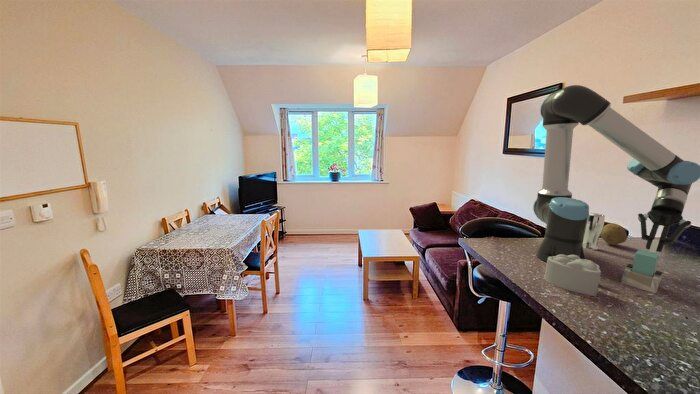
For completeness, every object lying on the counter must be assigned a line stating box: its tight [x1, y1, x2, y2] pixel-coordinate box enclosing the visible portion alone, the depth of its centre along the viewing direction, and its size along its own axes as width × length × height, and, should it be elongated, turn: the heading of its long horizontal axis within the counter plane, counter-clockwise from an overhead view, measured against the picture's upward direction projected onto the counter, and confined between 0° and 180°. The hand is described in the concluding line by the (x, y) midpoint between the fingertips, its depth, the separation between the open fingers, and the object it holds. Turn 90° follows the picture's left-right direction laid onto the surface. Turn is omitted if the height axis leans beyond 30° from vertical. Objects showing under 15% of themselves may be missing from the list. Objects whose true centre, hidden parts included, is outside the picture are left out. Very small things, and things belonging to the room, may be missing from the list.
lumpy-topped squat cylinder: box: [543, 254, 602, 296], centre depth 89 cm, size 10×13×9 cm
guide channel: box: [620, 263, 663, 294], centre depth 89 cm, size 16×10×6 cm, turn 128°
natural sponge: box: [600, 222, 628, 246], centre depth 127 cm, size 9×9×10 cm
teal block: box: [632, 249, 660, 277], centre depth 87 cm, size 6×4×10 cm
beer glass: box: [583, 212, 606, 251], centre depth 122 cm, size 7×7×15 cm
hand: (650, 257), depth 95 cm, fingers closed
